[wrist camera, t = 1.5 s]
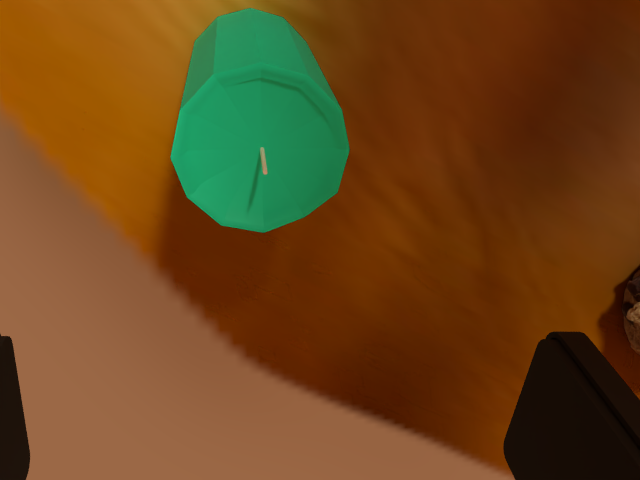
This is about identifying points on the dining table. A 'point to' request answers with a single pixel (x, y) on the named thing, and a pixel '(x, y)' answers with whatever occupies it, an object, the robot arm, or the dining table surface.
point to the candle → (257, 125)
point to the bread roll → (632, 312)
